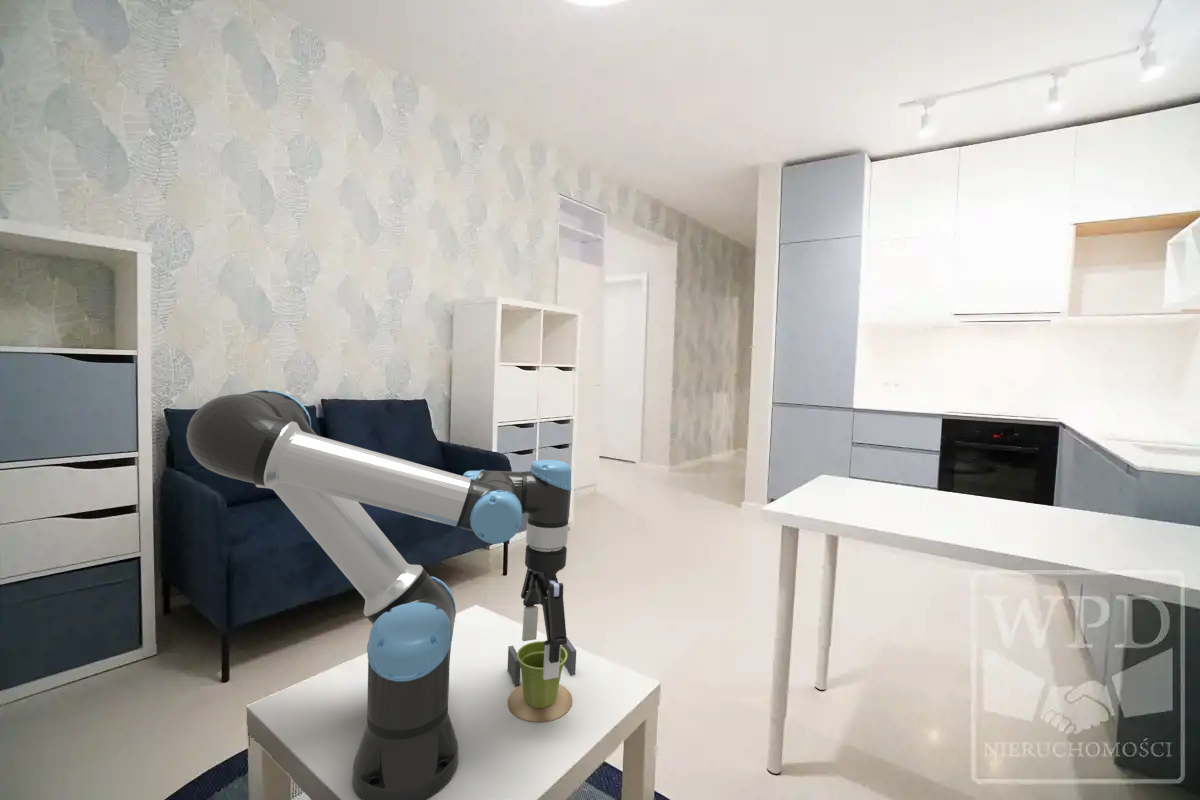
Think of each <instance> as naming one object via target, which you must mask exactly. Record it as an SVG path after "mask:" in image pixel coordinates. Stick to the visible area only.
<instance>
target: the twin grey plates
mask: <svg viewBox="0 0 1200 800" xmlns="http://www.w3.org/2000/svg"><path fill="white" fill-rule="evenodd" d="M561 646H562V647H563V648H564V649H565V650H566V652H567V660H566V662H565V663H564V666H563V667H565V669H566V670H567V671H568V673H569V674H570V676H573V675H576V666H577V649H576V648H575V647H574V645H573V644H572V642H571V641H570V639H568V637H567V644H564V645H561ZM507 650H508V651H507V668H506V669H507V672H508V674H509V676H510V679H511V681H512V684H513V685H514V687H518V686H520V685H521V667H520V664H519V661H518V659H517V652H518V651H517V650H516V649H515V647H514V645H508V646H507Z"/></svg>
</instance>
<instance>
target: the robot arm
mask: <svg viewBox="0 0 1200 800" xmlns="http://www.w3.org/2000/svg"><path fill="white" fill-rule="evenodd" d="M186 429H187V431H186V443H187V446H188V450H189V451H190V453H191V455H192V456H193V458H194V459H195V460H196V462H198V463H199V464H200V465H201V466H203V467H204V468H205V469H207V470H208V471H211V472H213V473H216V474H218V475H221V476H222V477H223V476H224V477H227V478H230V479H235V480H239V481H242V482H247V483H252V484H253V485H254V486H255V487H256V488H262V489H270V490H273V491H274V493H275V494H276V495H277V497H279V499H280V500H281V501H282V502H283V503H284V505H285V506H286V507H287V508H288V509H289V511H290V512H291V513H292V514H293V515H294V517H296V519H297V520H298V521H299V522H300V523H301V524H302V526H303V527H304V528H305V530H306V531H307V532H308V533H309V534H310V535H311V537H312V539H314V541H316V542H317V543H318V545H319V546H320V547H321V548H322V550H323V551H324V552H325V553H326V554H327V556H328V557H329V558H330V559H331V560H332V562H333V563H334V564H335V565H336V566H337V568H338V569H339V570H340V571H341V572H342V574H343V575H344V577H346V579H348V581H349V582H350V583H351V584H352V586H353V587H354V588H355V589H356V590H357V591H358V593H359V594H360V595H361V597H363V599H364V602H365V603H364V608H363V614H364V616H365V618H367V620H368V621H369V623H370V624H372V626H371V628H370V632H369V637H368V638H369V639H368V640H367V641H368V642H367V646H366V652H367V659H368V660H367V703H366V704H367V705H366V706H367V708H366V709H367V710H366V711H367V712H366V713H367V715H366V716H367V717H366V718H367V719H366V727H365V729H364V732H363V735H362V738H361V740H360V743H359V747H358V748H357V749H358V750H357V751H356V755H355V757H354V761H353V765H352V767H353V768H352V784H353V789H354V791H355V793H356V795H357V796H359V798H361V800H426V799H428V798H430V797H431V796H433V795H435V794H437V793H438V792H439V791H440V790H442V789H443V788H444V787H445V786H447V784H448V783H449V782H450V781H451V780H452V778H453V777H454V774H455V772H456V771H457V769H458V764H459V744H458V743H459V742H458V738H457V736H456V732H455V729H454V727H453V724H452V721H451V717H450V714H449V690H450V664H451V650H452V642H453V635H454V627H455V623H456V614H457V613H456V612H457V611H456V609H457V608H456V602H455V599H454V596H453V593H452V591H451V589H450V587H448V585H447V584H446V583H445V582H443V581H442V579H439V578H437V577H435V576H430V575H429V573H428V572H427V571H426V569H425V568H424V567H423V566H422V565H421V564H410V563H408V562H407V561H406V560H405V558H404V557H403V556H402V554H401V553H400V552H399V551H398V550H397V548H396V547H395V546H394V545H393V543H392V542H391V541H390V540H389V538H388V537H387V536H386V535H385V533H384V532H383V531H382V530H381V528H380V527H379V526H378V524H376V522H375V520H374V519H372V517H371V516H370V515H369V513H367V511H366V510H365V508H364V507H363V505H361V504H365V505H370V506H373V507H378V508H380V509H381V508H382V509H385V510H388V511H393V512H398V513H401V514H405V515H409V516H413V517H417V518H421V519H425V520H429V521H432V522H437V523H441V524H445V525H450V526H452V527H456V528H457V527H458V528H460V529H464V530H468V531H471V532H473V533H474V534H475V536H476V537H477V538H479V539H480V540H481V541H483V542H484V543H487V544H490V545H493V544H494V545H498V544H502V543H505V542H509V540H511V539H512V538H513V537H515V535H516V534H517V533H518V532H519V530H520V528H521V526H522V519H523V517H522V516H523V514H527V520H526V521H527V522H526V532H525V533H526V534H525V535H526V536H525V543H526V546H525V556H524V557H525V558H524V565H525V567H526V568H527V570H526V573H525V577H524V581H523V585H522V589H521V593H520V597H521V600H523V602H522V604H523V606H524V607H523V616H522V617H523V618H522V636H521V637H522V638H521V640H522V642H528V641H536V640H537V635H538V634H537V633H538V620H539V619H538V618H539V606H538V605H541V606H542V612H543V621H544V626H545V627H544V628H545V634H546V640H543V641H544V642H543V643H544V645H545V650H544V665H543V679H544V680H547V679H553V678H558V677H559V667H560V652H561V646H562V645H564V644H567V638H568V637H567V628H566V627H567V626H566V618H565V617H566V615H565V606H564V605H565V603H564V602H565V601H564V583H563V582H559V580H558V577H557V573H558V572H560V571H561V570H563V569H564V568H565V567H566V565H567V564H566V563H567V551H568V548H567V546H566V545H567V544H568V534H569V533H568V532H569V531H571V527H570V526H569V520H570V519H569V518H570V517H569V516H570V505H571V493H572V468H571V466H570V464H568V463H567V462H566V461H562V460H555V459H536V460H533V461H532V462H531V464H530V468H529V470H527V471H511V470H510V471H508V470H507V471H506V470H504V471H503V470H485V469H480V470H467V471H465V472H464V473H463V475H460V474H456V473H453V472H449V471H446V470H442V469H438V468H435V467H431V466H427V465H425V464H424V465H423V464H420V463H416V462H414V461H410V460H408V459H407V460H406V459H404V458H403V459H402V458H400V457H395V456H393V455H388V454H385V453H381V452H377V451H373V450H370V449H367V448H363V447H359V446H356V445H353V444H349V443H345V442H341V441H339V440H334V439H331V438H327V437H323V436H320V435H317V433H316V432H315V431H314V429H313V428H312V421H311V416H310V413H309V411H308V410H307V409H306V407H305V406H304V405H303V403H302V402H300V400H298V399H297V398H296V397H294V396H292V395H289V394H287V393H284V392H281V391H276V390H269V389H260V390H252V391H249V392H244V393H238V394H237V393H235V394H226V395H222V396H221V395H220V396H219V397H216V398H214V399H211V400H209V401H207V402H206V403H205V404H203V405H202V406H201V407H199V409H197V410H196V411H195V413H194V414H193V415H192V416H191V418H190V421H189V423H188V425H187V428H186ZM360 503H361V504H360Z"/></svg>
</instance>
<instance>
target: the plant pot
mask: <svg viewBox="0 0 1200 800" xmlns="http://www.w3.org/2000/svg"><path fill="white" fill-rule="evenodd" d="M544 641H545V640H540V641H533V642H529V643H526V644H524V645H523V646H521V647H520V648H519V649H518V651H516V652H517V659H518V661H519V664H520V667H521V669H520V675H521V683H522V684H521V685H523V696H524V701H525V702H526V703H527V704H528V705H529V706H531V707H534V708H545V707H546V706H548V705H552V704H554V702H555V701H556V698H557V692H558V687H559V684H560V681H561V675H562V672H563V671H562V670H563V668H564V667H565V666H564V663H565V662H566V660H567V652H566V650H565V649H564V648H563V647H562V645H561V652H560V667H559V677H558V678H553V679H547V680H544V679H543V665H544V650H545V645H544V643H543V642H544Z"/></svg>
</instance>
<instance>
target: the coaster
mask: <svg viewBox="0 0 1200 800" xmlns="http://www.w3.org/2000/svg"><path fill="white" fill-rule="evenodd" d="M507 706H508V707H507V708H508V709H509V711H510V713H511V714H513V716H515V717H516V718H518V719H520V720H523V721H526V722H529V723H548V722H553V721H555V720H558V719H560V718H562V717H564V716H565V715H566V714H567V713H568V712H569V711H570V710H571V708H572V706H573V695H572V694H571V692H570V690H569V689H568V688H566V687H565V686H563V685H562V684H560V683H559V687H558V692H557V698H556V701H555V702H554V704H552V705H548V706H546V707H545V708H534V707H531V706H529V705H528V704H527V703H526V702H525V701H524V696H523V685H522V684H520V686H516V687H515V688H514V689H513V690H512V691H511V692H510V694H509V695H508V697H507Z"/></svg>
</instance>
